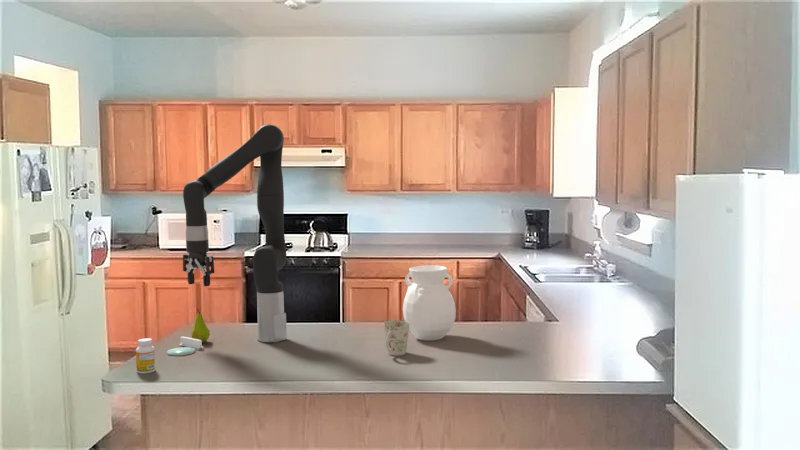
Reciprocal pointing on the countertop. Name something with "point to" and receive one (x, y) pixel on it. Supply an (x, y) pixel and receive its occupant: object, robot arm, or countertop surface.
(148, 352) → the supplement bottle
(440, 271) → the white handled vase
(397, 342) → the mug
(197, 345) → the rail
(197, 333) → the fruit
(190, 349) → the pad
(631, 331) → the countertop surface
